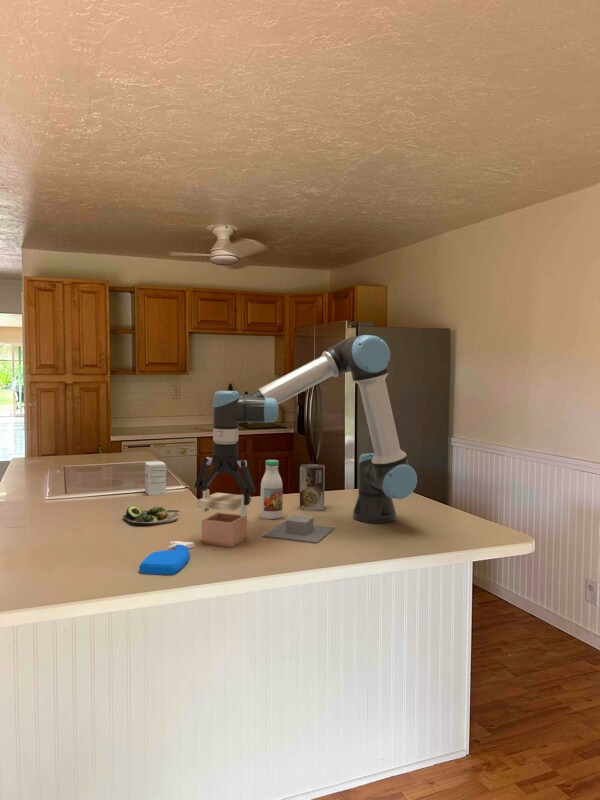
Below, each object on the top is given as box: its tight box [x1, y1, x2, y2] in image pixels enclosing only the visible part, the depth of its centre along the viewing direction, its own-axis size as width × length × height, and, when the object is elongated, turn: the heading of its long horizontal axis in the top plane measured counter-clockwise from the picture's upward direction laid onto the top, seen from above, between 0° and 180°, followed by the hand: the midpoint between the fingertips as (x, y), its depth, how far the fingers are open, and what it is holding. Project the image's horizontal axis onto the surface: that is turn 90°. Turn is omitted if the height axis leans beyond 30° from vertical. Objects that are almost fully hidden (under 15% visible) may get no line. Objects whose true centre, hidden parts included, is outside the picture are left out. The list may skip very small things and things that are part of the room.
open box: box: [201, 512, 248, 548], centre depth 182 cm, size 10×10×7 cm
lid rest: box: [261, 514, 336, 544], centre depth 192 cm, size 18×18×4 cm
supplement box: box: [144, 460, 167, 496], centre depth 246 cm, size 7×7×13 cm
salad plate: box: [122, 505, 180, 527], centre depth 206 cm, size 19×18×5 cm
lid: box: [196, 492, 252, 512], centre depth 181 cm, size 12×12×2 cm
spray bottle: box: [138, 540, 195, 576], centre depth 164 cm, size 3×11×24 cm
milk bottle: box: [259, 459, 284, 520], centre depth 211 cm, size 8×8×20 cm
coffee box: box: [299, 463, 326, 511], centre depth 225 cm, size 9×6×16 cm
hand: (224, 513), depth 182 cm, fingers closed on lid, 12 cm apart
